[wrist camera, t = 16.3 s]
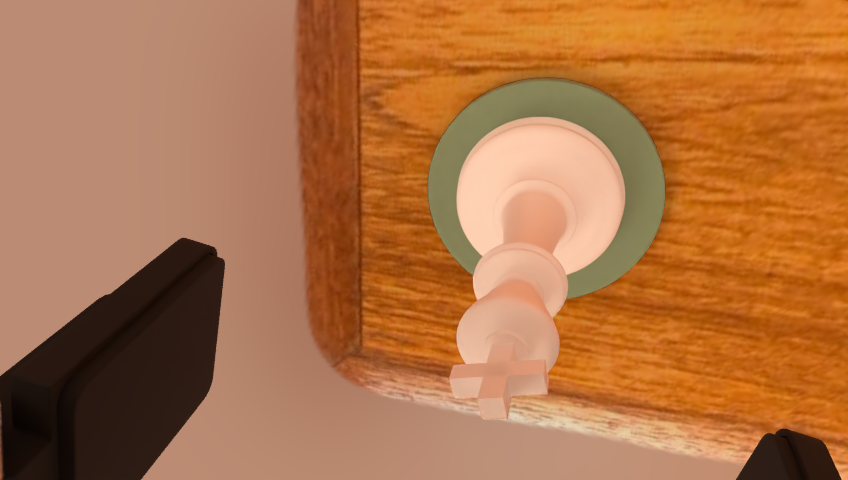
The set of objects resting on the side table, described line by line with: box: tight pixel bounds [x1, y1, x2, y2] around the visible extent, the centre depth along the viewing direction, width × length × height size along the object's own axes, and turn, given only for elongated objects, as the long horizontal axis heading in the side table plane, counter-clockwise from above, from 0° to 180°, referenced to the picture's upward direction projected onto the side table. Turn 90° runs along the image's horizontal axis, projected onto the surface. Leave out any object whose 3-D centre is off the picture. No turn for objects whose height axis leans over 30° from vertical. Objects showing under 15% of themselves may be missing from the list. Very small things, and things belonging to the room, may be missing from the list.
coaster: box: [428, 78, 666, 299], centre depth 20 cm, size 7×7×1 cm
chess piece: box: [449, 117, 625, 420], centre depth 16 cm, size 5×5×10 cm
